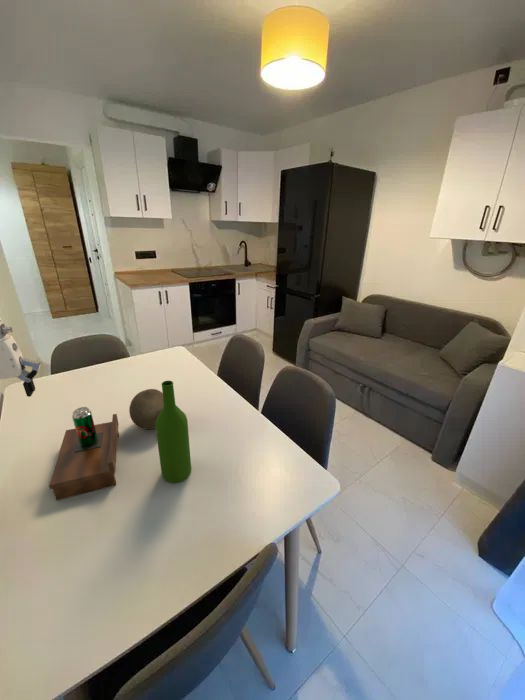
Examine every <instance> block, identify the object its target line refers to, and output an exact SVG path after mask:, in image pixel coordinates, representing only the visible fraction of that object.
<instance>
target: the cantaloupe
mask: <svg viewBox="0 0 525 700" xmlns="http://www.w3.org/2000/svg"><path fill="white" fill-rule="evenodd" d="M163 407H164V402H163V392H162V391H160V390H159V389H157V388H148V389H144V390H141V391H139V392H138V393H136V395H134V396H133V398H132V400H131V401H130V405H129V411H128V412H129V417H130V419H131V421H132V422H133V424H134V425H135V426H136V427H137V428H139V429H141V430H142V429H143V430H152V429H156V428H155V424H156V419H157V417H158V415H159V414H160V412H161V411H162V409H163Z"/></svg>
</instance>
